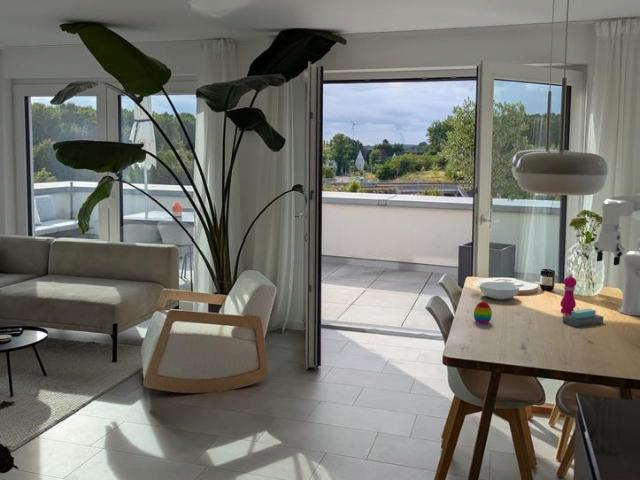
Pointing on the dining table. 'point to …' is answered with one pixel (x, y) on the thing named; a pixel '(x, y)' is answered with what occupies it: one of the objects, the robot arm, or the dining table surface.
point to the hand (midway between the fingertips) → (607, 262)
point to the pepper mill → (568, 295)
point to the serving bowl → (499, 290)
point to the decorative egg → (482, 312)
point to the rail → (582, 320)
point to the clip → (583, 313)
